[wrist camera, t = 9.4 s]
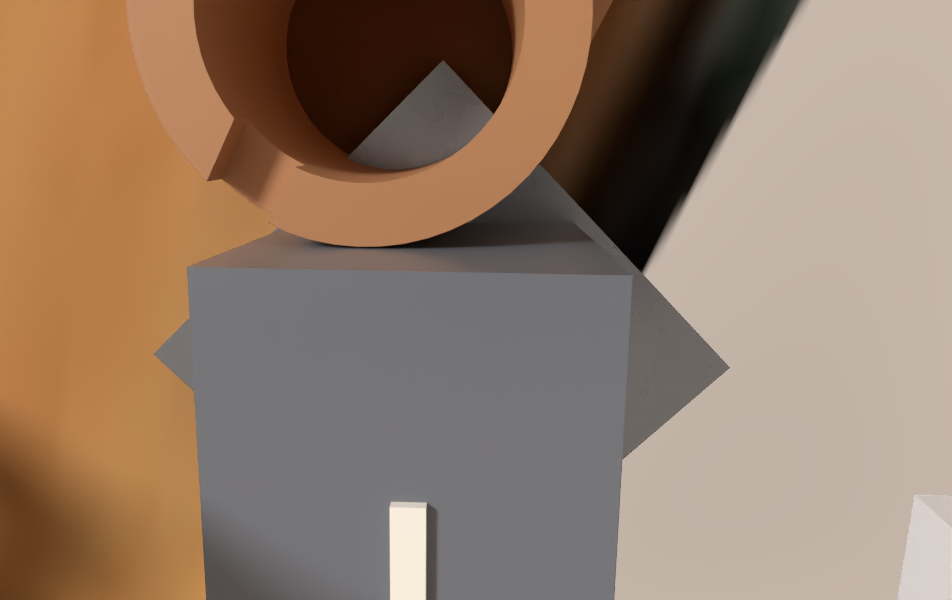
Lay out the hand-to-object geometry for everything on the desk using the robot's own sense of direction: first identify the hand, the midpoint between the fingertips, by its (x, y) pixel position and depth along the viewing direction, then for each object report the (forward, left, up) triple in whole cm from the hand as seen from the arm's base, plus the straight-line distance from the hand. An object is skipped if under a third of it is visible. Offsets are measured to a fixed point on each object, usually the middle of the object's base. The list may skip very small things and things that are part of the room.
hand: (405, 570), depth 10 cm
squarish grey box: (0, 0, -11) cm, 11 cm away
